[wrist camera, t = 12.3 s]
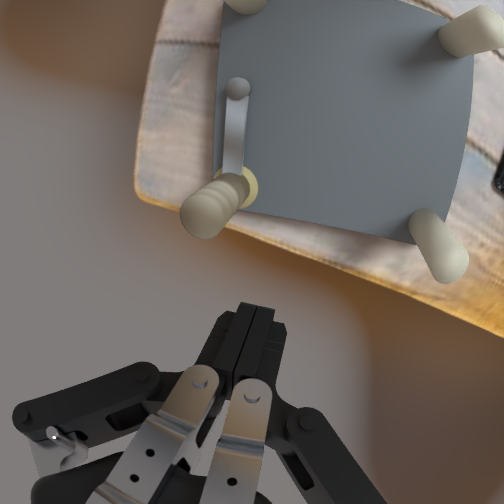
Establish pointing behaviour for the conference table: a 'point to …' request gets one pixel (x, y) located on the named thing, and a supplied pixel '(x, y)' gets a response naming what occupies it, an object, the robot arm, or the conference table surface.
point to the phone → (500, 177)
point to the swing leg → (223, 172)
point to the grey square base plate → (355, 114)
